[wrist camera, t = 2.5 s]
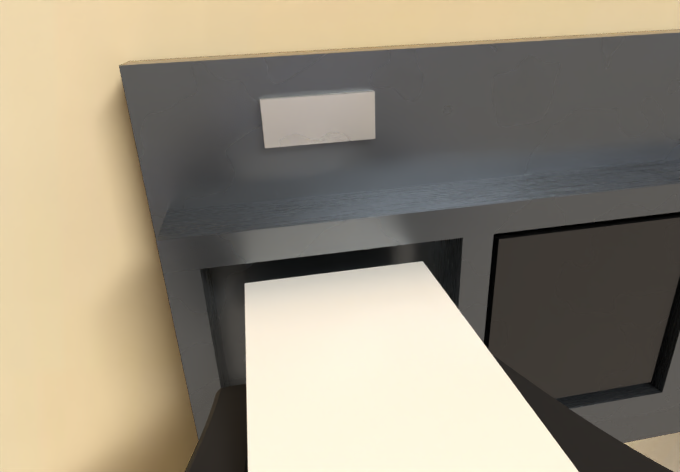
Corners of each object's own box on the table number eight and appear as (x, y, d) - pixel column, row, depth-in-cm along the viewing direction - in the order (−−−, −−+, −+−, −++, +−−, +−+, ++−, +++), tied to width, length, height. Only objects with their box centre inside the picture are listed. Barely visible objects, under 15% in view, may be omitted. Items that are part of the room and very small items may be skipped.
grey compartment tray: (903, 16, 13) (1043, 16, 11) (758, 392, 19) (831, 446, 16) (129, 60, 11) (97, 73, 8) (217, 492, 16) (214, 575, 14)
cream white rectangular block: (422, 261, 11) (623, 531, 5) (418, 397, 13) (568, 720, 7) (244, 283, 11) (251, 613, 5) (263, 423, 12) (286, 799, 6)
